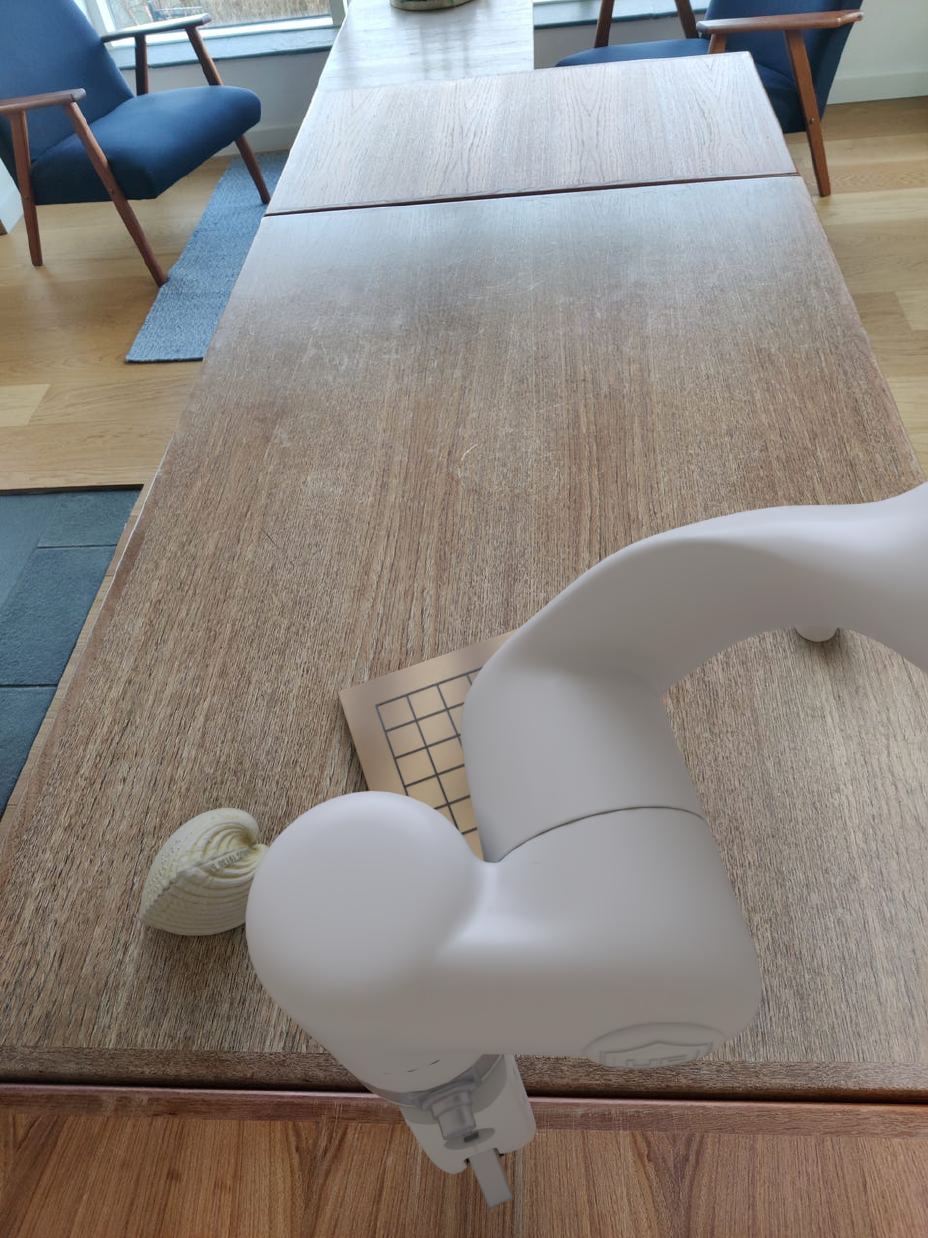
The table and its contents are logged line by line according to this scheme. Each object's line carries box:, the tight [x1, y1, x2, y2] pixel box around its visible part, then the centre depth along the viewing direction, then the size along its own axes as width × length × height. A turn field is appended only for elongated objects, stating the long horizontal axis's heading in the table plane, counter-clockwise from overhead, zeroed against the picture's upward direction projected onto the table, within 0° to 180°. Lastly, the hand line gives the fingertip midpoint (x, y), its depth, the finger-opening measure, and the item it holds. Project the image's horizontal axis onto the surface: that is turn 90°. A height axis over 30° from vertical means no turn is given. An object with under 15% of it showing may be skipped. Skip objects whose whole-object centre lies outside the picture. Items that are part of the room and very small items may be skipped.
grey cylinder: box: [794, 626, 838, 643], centre depth 69 cm, size 3×3×3 cm
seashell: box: [138, 807, 270, 937], centre depth 60 cm, size 8×8×8 cm
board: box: [337, 627, 520, 861], centre depth 66 cm, size 20×20×2 cm
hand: (469, 1083), depth 50 cm, fingers closed on black stone, 3 cm apart
